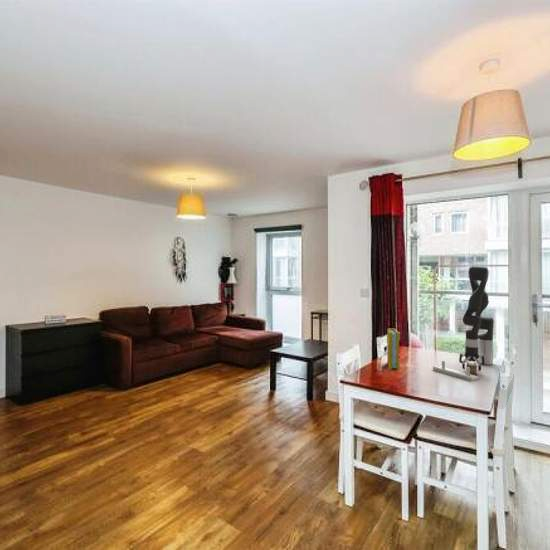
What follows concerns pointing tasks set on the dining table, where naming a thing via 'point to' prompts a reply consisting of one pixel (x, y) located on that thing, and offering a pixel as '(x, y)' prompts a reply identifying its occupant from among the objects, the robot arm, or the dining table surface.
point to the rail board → (456, 372)
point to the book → (393, 348)
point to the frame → (472, 367)
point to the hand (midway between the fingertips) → (471, 370)
